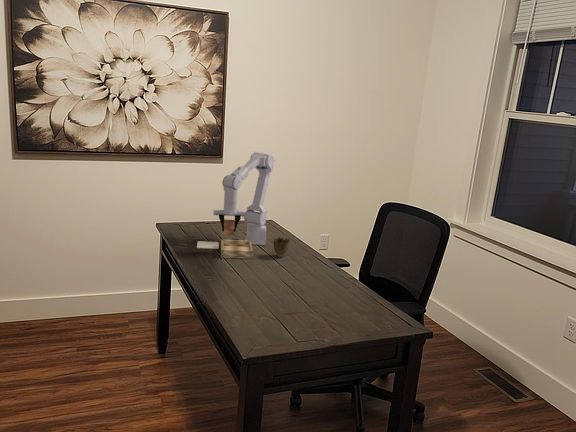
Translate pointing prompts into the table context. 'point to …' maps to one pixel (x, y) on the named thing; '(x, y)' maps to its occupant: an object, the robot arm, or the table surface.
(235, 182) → the robot arm
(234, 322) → the table surface
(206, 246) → the grey mat
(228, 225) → the terracotta block
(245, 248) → the organiser box
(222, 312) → the table surface
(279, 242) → the cup
